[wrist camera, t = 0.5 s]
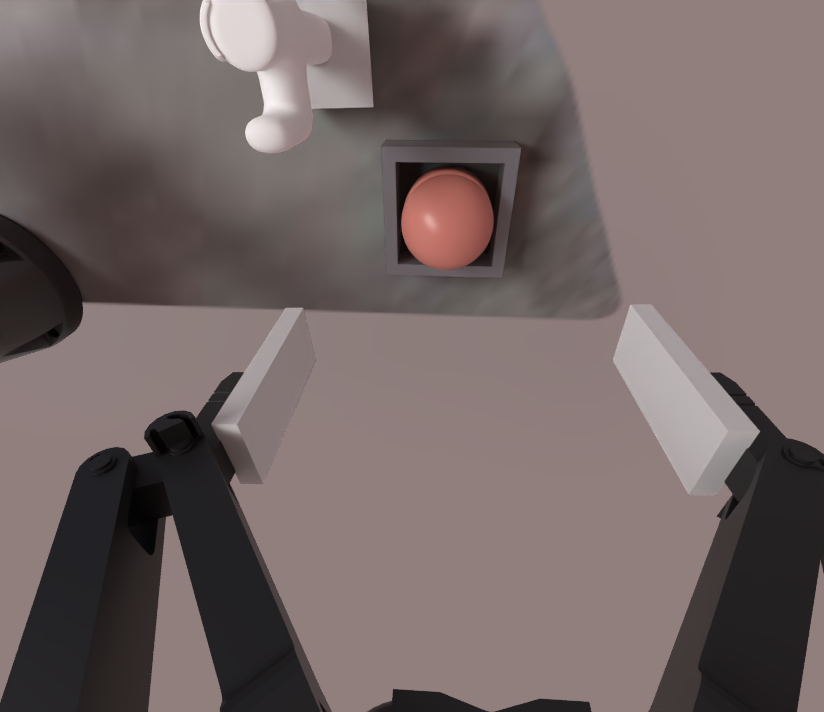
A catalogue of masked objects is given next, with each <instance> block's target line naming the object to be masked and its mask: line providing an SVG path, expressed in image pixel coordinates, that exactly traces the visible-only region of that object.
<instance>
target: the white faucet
mask: <svg viewBox="0 0 824 712" xmlns="http://www.w3.org/2000/svg"><path fill="white" fill-rule="evenodd" d="M200 26H201V31H202V34H203V37H204V39H205V41H206V44H207V45H208V47H209V49H210V51H211V52H212V53H213V55H214V56H215V57H216V58H217V59H218V60H220V61H228V62H229V63H231V64H232V65H233V66H235V67H236V68H238V69H240V70H243V71H247V72H257V74H258V77H259V80H260V85H261V90H262V95H263V100H264V111H263V114H262V116H259V117H257V118H254V119H253V120H251V121H250V122H249V123H248V125H247V127H246V130H245V135H246V139H247V141H248V143H249V144H250V145H251V146H252V147H253V148H254V149H256V150H257V151H260V152H263V153H269V154H275V153H281V152H284V151H287V150H289V149H291V148H292V147H294V146H296V145H298V144H299V143H301V142H303V141H304V140H306V139H307V138H308V137H309V135H310V134H311V132H312V128H313V115H312V109H314V108H364V107H374V105H373V90H372V75H371V60H370V45H369V31H368V16H367V1H366V0H203V2H202V5H201V9H200Z"/></svg>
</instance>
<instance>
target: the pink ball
mask: <svg viewBox="0 0 824 712" xmlns="http://www.w3.org/2000/svg"><path fill="white" fill-rule="evenodd" d="M493 224H494V217H493V210H492V205H491V202H490V199H489V196H488V193H487V191H486V188H485V187H484V185H483V183H482V182H481V180H480V179H479V178H478V177H477V176H476V175H474V174H473V173H472V172H470V171H469V170H467V169H464V168H462V167H458V166H452V165H445V166H439V167H435V168H433V169H430V170H428V171H426V172H425V173H424V174H422V175H421V176H420V177H419V178H418V179H417V180H416V181H415V182H414V183H413V185H412V186H411V188H410V190H409V192H408V194H407V197H406V201H405V204H404V208H403V212H402V220H401V227H402V234H403V238H404V240H405V243H406V245H407V247H408V249H409V250H410V252H411V253H412V254H413V255H414V256H415V258H417V259H418V260H419V261H420V262H422V263H423V264H425V265H427V266H429V267H431V268H434V269H439V270H454V269H458V268H461V267H464V266H466V265H468V264H470V263H471V262H473V261H474V260H475V259H476V258H477V257H479V256H480V255H481V253H482V252H483V251H484V250H485V248H486V246H487V245H488V243H489V241H490V238H491V235H492V231H493Z"/></svg>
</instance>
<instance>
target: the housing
mask: <svg viewBox="0 0 824 712" xmlns="http://www.w3.org/2000/svg"><path fill="white" fill-rule="evenodd" d="M520 154H521V147H520V146H519V145H518V144H517V143H516V142H515V141H430V140H386V141H385V142H384V144H383V145H382V146H381V155H382V179H383V203H384V227H385V250H386V274H387V275H415V276H450V277H486V278H502V276H503V269H504V263H505V256H506V249H507V242H508V235H509V229H510V222H511V215H512V208H513V201H514V195H515V188H516V181H517V174H518V167H519V161H520ZM399 162H434V163H499V172H498V180H497V188H496V197H495V205H494V213H493V217H494V224H493V231H492V235H491V238H490V247H489V253H481V255H480V256H479V257H477V258H476V259H475V260H474V261H473V262H471V263H470V264H468V265H466V266H464V267H461V268H458V269H454V270H439V269H434V268H431V267H429V266H427V265H425V264H423V263H422V262H420V261H419V260H418V259H417V258H415V256H414V255H413V254H412V253H411V252H410V251H401V235H400V180H399Z"/></svg>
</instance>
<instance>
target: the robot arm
mask: <svg viewBox="0 0 824 712" xmlns="http://www.w3.org/2000/svg"><path fill="white" fill-rule="evenodd" d="M82 315H83V306H82V300H81V296H80V293H79V291H78V288H77V286H76V284H75V282H74V280H73V279H72V277H71V276H70V274H69V273H68V271H67V270H66V268H65V267H64V266H63V264H62V263H61V262H60V261H59V260H58V259H57V257H56V256H55V255H54V254H53V253H52V252H51V251H50V250H49V249H48V248H47V247H46V246H45V245H43V244H42V243H41V242H40V241H39V240H38V239H36V238H35V237H34V236H32V235H31V234H30V233H28V232H27V231H26V230H24V229H23V228H21V227H19V226H18V225H16V224H15V223H13V222H11V221H9V220H7V219H6V218H4V217H2V216H0V363H2V362H5V361H8V360H11V359H14V358H18V357H21V356H24V355H27V354H30V353H34V352H37V351H40V350H43V349H46V348H49V347H51V346H54V345H55V344H57V343H59V342H60V341H62V340H63V339H65V338H66V337H67V336H69V335H70V334H71V333H73V332H74V331H75V330H76V329H77V328H78V326H79V325H80V323H81V320H82ZM315 361H316V359H315V355H314V351H313V346H312V342H311V338H310V334H309V330H308V326H307V321H306V317H305V313H304V309H303V308H285V309H284V311H283V312H282V314H281V316H280V317H279V319H278V320H277V322H276V323H275V325H274V327H273V328H272V330H271V331H270V333H269V334H268V336H267V338H266V339H265V341H264V342H263V344H262V345H261V347H260V348H259V350H258V352H257V353H256V355H255V356H254V358H253V359H252V361H251V363H250V364H249V366H248V367H247V369H246V370H245V372H233V373H232V374H230V375H229V376H228V377H227V378H225V379H224V380H223V381H221V383H220V384H219V386H218V387H217V389H216V390H215V391H214V394H213V395H212V396H211V398H210V399H209V402H207V403H206V405H205V406H204V407H203V409H202V410H201V412H200V413H199V415H198V416H197V418H195V416H194V415H193V414H192V413H191V412H188V411H174V412H171V413H168V414H165V415H163V416H161V417H159V418H157V419H156V420H155V421H154V422H152V423H151V424H150V425H149V426H148V428H147V429H146V431H145V435H144V439H145V440H146V442H147V443H148V445H149V446H150V447H151V449H152V451H153V452H151V453H147V454H143V455H138V456H134V457H132V456H131V455H130V454H129V452H128V451H127V450H126V449H124V448H119V447H114V448H109V449H105V450H103V451H100V452H98V453H96V454H94V455H93V456H91V457H90V458H88V459H87V460H86V461H85V462H84V463H83V464H82V465H81V466H80V467H79V469H78V470H77V472H76V474H75V477H74V480H73V483H72V487H71V490H70V493H69V495H68V499H67V502H66V505H65V508H64V511H63V514H62V517H61V520H60V523H59V526H58V529H57V532H56V535H55V538H54V541H53V544H52V547H51V550H50V553H49V556H48V559H47V562H46V566H45V568H44V572H43V575H42V578H41V581H40V584H39V587H38V590H37V593H36V596H35V599H34V602H33V605H32V608H31V611H30V614H29V617H28V620H27V623H26V627H25V629H24V633H23V636H22V639H21V641H20V644H19V648H18V651H17V654H16V657H15V660H14V663H13V666H12V669H11V672H10V675H9V678H8V682H7V684H6V687H5V690H4V693H3V696H2V699H1V702H0V712H148V705H149V695H150V683H151V673H152V661H153V651H154V640H155V630H156V619H157V608H158V596H159V586H160V575H161V564H162V554H163V543H164V532H165V521H166V517H167V516H171V515H173V518H174V521H175V525H176V528H177V532H178V535H179V539H180V543H181V546H182V550H183V554H184V558H185V561H186V565H187V568H188V572H189V576H190V580H191V583H192V587H193V590H194V594H195V598H196V601H197V605H198V608H199V612H200V616H201V620H202V623H203V627H204V630H205V634H206V638H207V641H208V645H209V648H210V652H211V656H212V660H213V663H214V667H215V670H216V674H217V678H218V682H219V685H220V689H221V693H222V703H221V707H220V712H332V711H331V709H330V707H329V705H328V703H327V701H326V699H325V697H324V695H323V693H322V691H321V689H320V686H319V684H318V682H317V680H316V678H315V675H314V673H313V671H312V668H311V666H310V664H309V662H308V660H307V657H306V655H305V653H304V650H303V648H302V646H301V643H300V641H299V639H298V637H297V634H296V632H295V630H294V627H293V625H292V623H291V621H290V618H289V616H288V614H287V612H286V609H285V607H284V605H283V602H282V600H281V598H280V596H279V593H278V591H277V589H276V587H275V584H274V582H273V580H272V577H271V575H270V573H269V571H268V568H267V566H266V564H265V562H264V559H263V557H262V555H261V553H260V551H259V548H258V546H257V543H256V541H255V539H254V537H253V534H252V532H251V530H250V527H249V525H248V523H247V521H246V518H245V516H244V514H243V512H242V509H241V507H240V505H239V502H238V500H237V498H236V496H235V493H234V491H233V489H232V487H231V485H230V481H231V479H232V477H233V476H234V474H235V473H236V475H237V477H238V479H239V481H240V483H241V484H264V481H265V479H266V477H267V474H268V472H269V470H270V467H271V465H272V463H273V460H274V457H275V455H276V453H277V451H278V448H279V446H280V444H281V441H282V439H283V437H284V434H285V432H286V429H287V427H288V425H289V422H290V420H291V418H292V415H293V413H294V411H295V408H296V406H297V404H298V401H299V399H300V397H301V394H302V392H303V389H304V387H305V385H306V382H307V380H308V378H309V375H310V373H311V370H312V368H313V366H314V363H315ZM613 362H614V364H615V365H616V367H617V369H618V371H619V372H620V374H621V376H622V378H623V379H624V381H625V383H626V385H627V387H628V388H629V390H630V392H631V394H632V395H633V397H634V399H635V401H636V402H637V404H638V406H639V408H640V409H641V411H642V413H643V415H644V416H645V418H646V420H647V422H648V424H649V425H650V427H651V429H652V431H653V432H654V434H655V436H656V438H657V439H658V441H659V443H660V445H661V446H662V448H663V450H664V452H665V454H666V455H667V457H668V459H669V461H670V462H671V464H672V466H673V468H674V469H675V471H676V473H677V475H678V476H679V478H680V480H681V482H682V483H683V485H684V487H685V489H686V491H687V492H688V494H689V495H714V496H716V495H717V493H718V492H719V491H720V489H721V488H722V486H723V485H724V483H726V485H727V486H728V488H729V489H730V490H731V492H732V494H733V495H732V496H731V497H730V499H729V500H728V501H727V503H726V505H725V506H724V507H723V508H722V510H721V511H720V513H719V514H718V515H717V517H719V518H721V520H720V523H719V527H718V529H717V531H716V534H715V537H714V539H713V542H712V545H711V547H710V550H709V553H708V556H707V558H706V561H705V564H704V566H703V569H702V572H701V574H700V577H699V580H698V582H697V585H696V588H695V591H694V593H693V596H692V598H691V601H690V604H689V607H688V609H687V612H686V614H685V617H684V620H683V623H682V625H681V628H680V631H679V633H678V636H677V639H676V641H675V644H674V647H673V649H672V652H671V655H670V658H669V660H668V663H667V666H666V668H665V671H664V674H663V676H662V679H661V682H660V684H659V687H658V690H657V692H656V695H655V698H654V701H653V703H652V705H651V708H650V710H649V712H797V708H798V701H799V694H800V688H801V682H802V675H803V669H804V662H805V656H806V650H807V643H808V637H809V630H810V624H811V617H812V611H813V604H814V598H815V591H816V585H817V578H818V572H819V565H820V559H821V563H822V567H823V572H824V454H822V453H821V452H820V451H818V450H817V449H816V448H814V447H812V446H810V445H808V444H806V443H803V442H800V441H797V440H793V439H787V438H786V437H785V436H784V435H783V434H782V433H781V432H780V430H779V429H778V428H777V427H776V426H775V425H774V424H773V423H772V422H771V421H770V419H769V418H768V417H767V416H766V415H765V414H764V413H763V412H762V411H761V410H760V409H759V407H758V406H755V403H754V402H753V401H752V400H751V399H750V397H747V396H746V393H745V392H744V391H743V390H742V389H741V388H740V387H739V386H738V384H737V383H736V382H734V381H732V380H731V379H729V378H728V377H726V376H725V375H723V374H722V373H710V372H709V371H708V370H707V369H706V368H705V367H704V365H703V364H702V363H701V362H700V361H699V360H698V358H697V357H696V356H695V355H694V354H693V353H692V351H691V350H690V349H689V348H688V347H687V345H686V344H685V343H684V342H683V341H682V340H681V339H680V337H679V336H678V335H677V334H676V333H675V332H674V330H673V329H672V328H671V327H670V326H669V325H668V323H667V322H666V321H665V320H664V319H663V317H662V316H661V315H660V314H659V313H658V312H657V311H656V309H655V308H654V307H653V306H652V305H651V304H631V305H630V308H629V311H628V314H627V317H626V320H625V323H624V326H623V330H622V333H621V336H620V339H619V342H618V345H617V348H616V352H615V355H614V358H613ZM368 712H488V711H485V710H482V709H480V708H477V707H475V706H473V705H470V704H468V703H465V702H463V701H460V700H458V699H455V698H453V697H450V696H448V695H446V694H443V693H441V692H429V691H414V690H399V689H393V698H392V701H390V702H387V703H383V704H381V705H379V706H377V707H374V708H372V709H371V710H369V711H368ZM495 712H591V708H590V703H589V702H582V701H567V700H551V699H538V700H534V701H530V702H527V703H523V704H520V705H516V706H513V707H509V708H506V709H502V710H499V711H495Z"/></svg>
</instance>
